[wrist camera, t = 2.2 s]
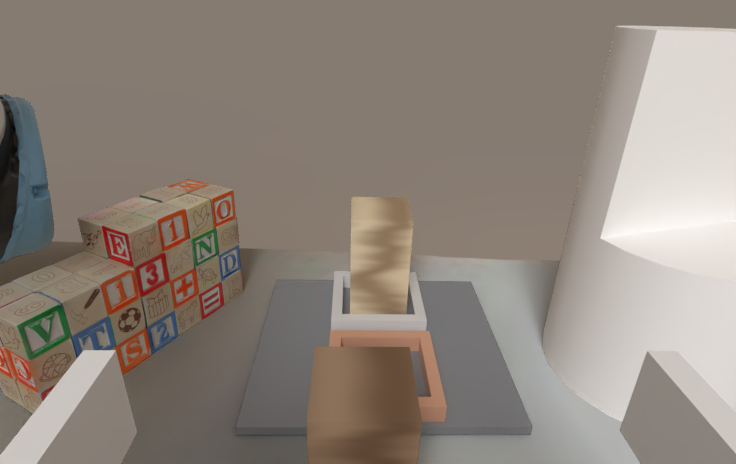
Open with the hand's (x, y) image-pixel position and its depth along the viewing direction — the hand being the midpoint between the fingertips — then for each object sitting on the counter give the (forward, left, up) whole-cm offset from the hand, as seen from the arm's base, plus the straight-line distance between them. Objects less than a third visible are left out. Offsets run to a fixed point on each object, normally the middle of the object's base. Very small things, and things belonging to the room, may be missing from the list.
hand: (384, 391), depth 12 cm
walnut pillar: (0, +10, -20) cm, 22 cm away
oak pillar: (+2, +31, -19) cm, 37 cm away
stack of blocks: (-20, +28, -20) cm, 40 cm away
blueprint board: (+2, +26, -20) cm, 33 cm away
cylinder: (+26, +24, -20) cm, 41 cm away
